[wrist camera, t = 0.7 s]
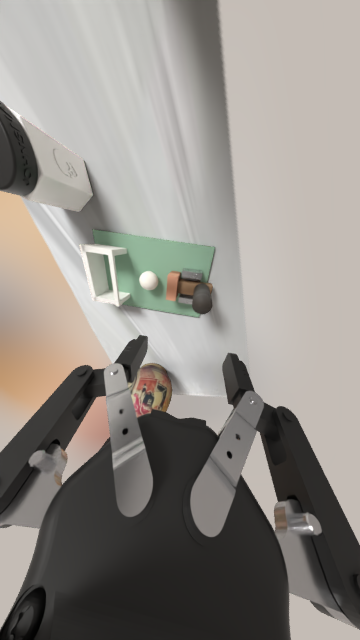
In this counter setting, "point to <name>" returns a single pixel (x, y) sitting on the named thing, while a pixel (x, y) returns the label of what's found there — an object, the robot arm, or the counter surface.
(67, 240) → the counter surface
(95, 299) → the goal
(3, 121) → the jar
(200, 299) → the wooden peg with knob
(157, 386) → the ceramic jug
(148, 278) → the ball
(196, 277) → the bracket
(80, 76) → the counter surface
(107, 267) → the pitch mat
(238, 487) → the robot arm
